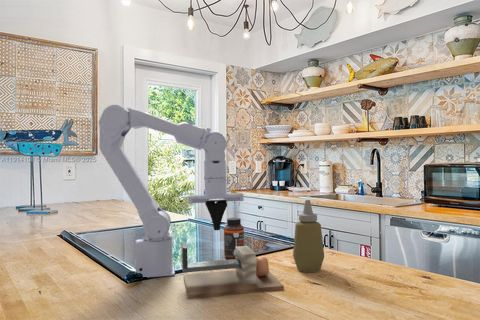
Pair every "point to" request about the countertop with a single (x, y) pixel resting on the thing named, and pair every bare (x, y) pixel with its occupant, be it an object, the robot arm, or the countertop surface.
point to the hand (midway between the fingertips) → (216, 229)
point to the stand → (231, 279)
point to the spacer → (262, 266)
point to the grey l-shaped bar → (206, 263)
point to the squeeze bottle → (308, 241)
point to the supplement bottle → (233, 237)
